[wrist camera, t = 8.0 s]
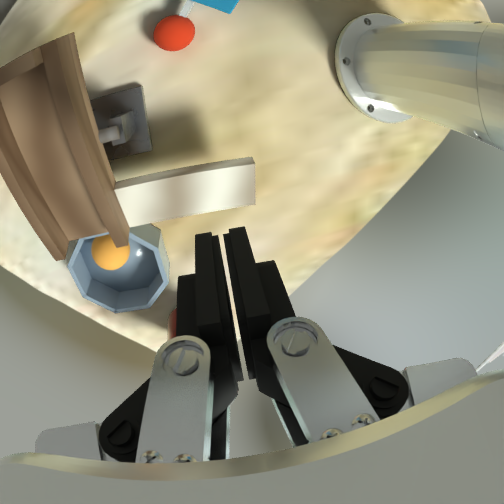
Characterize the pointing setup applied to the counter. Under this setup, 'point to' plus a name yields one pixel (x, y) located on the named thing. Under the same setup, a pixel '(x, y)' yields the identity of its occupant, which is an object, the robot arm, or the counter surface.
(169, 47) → the lever
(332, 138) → the counter surface
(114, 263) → the ball
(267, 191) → the counter surface
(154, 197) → the chute lever
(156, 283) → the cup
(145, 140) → the pivot stand
